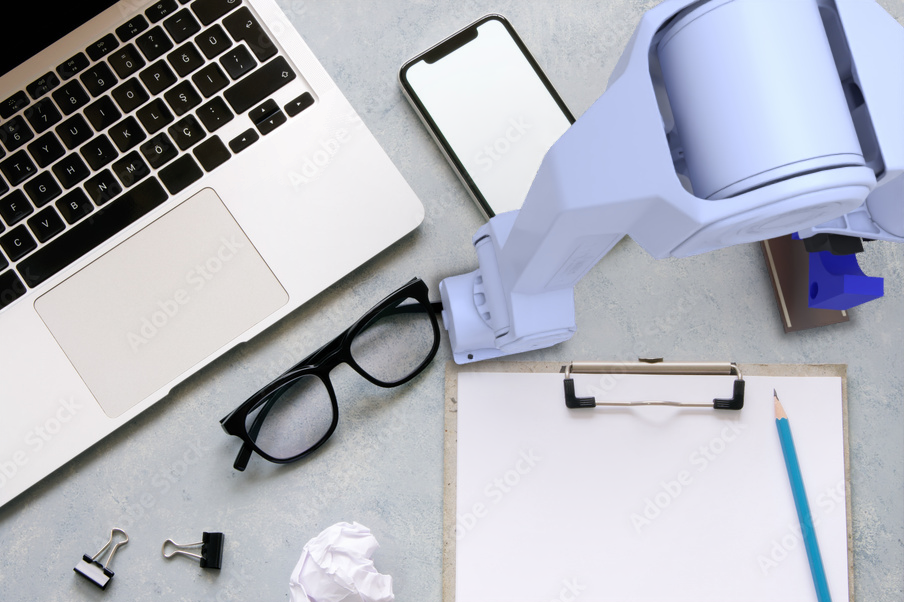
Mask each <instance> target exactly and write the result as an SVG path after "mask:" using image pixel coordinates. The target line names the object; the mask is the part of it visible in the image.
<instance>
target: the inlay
mask: <svg viewBox="0 0 904 602" xmlns="http://www.w3.org/2000/svg"><path fill="white" fill-rule="evenodd" d="M759 243H760V247H761V252H762V254H763V258H764V262H765V265H766V269H767V272H768V275H769V279H770V283H771V287H772V291H773V294H774V298H775V302H776V304H777V308H778V312H779V314H780V319H781V323H782V327H783V330H784V333H785V334H789V333H790V334H791V333H794V332H795V333H796V332H799V331H804V330H809V329H815V328H820V327H825V326H829V325H833V324H834V325H835V324H841V323H844V322H850V320H851V319H850V316H849V312H848V309H847V310H832V309H820V308H808V295H809V252H807V251H806V248H805V245H804V241H803V240H797V239H792V233H790V234H787V235H783V236H779V237H775V238H771V239H766V240H761V241H759Z"/></svg>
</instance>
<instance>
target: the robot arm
mask: <svg viewBox="0 0 904 602" xmlns="http://www.w3.org/2000/svg"><path fill="white" fill-rule="evenodd" d="M797 231H798V234H799V238H800V239H802V238H803V241H804V245H805V248H806V251H807V252H809V253H815V252H821V251H829V252H830V253H831V254H833V255H838V256H844V255H850V254H859V253H864V252H865V248H864V246H863V242H865V243H867V242H875V241H882V242H883V241H884V242H891V243H896V244H897V243H899V244H904V26H903V25H902V24H901V23H900V22H898V21H897V20H896V19H895V18H894V17H893V16H892V15H891V14H890V13H889V12H888V11H887V10H886V9H885V8H884V7H882V5H881V4H879V3H878V2H877V1H876V0H662V1H660V2H658V3H657V4H656V5H655V6H653V8H650V9H648V10H646V11H644V13H643V14H642V16H641V17H640V19H639V21H638V23H637V25H636V27H635V29H634V30H633V33H632V34H631V36H630V38H629V40H628V42H627V43H626V46H625V48H624V49H623V51H622V53H621V55H620V57H619V58H618V60H617V62H616V64H615V66H614V68H613V70H612V72H611V73H610V76H609V77H608V79H607V83H606V87H605V90H604V92H603V93H602V94H601V95H600V96H599V97H598V98H597V99H595V101H594V102H593V103H592V104H591V105H590V106H588V108H587V109H586V110H585V111H584V112H583V113H582V114H581V116H579V117H578V118H577V119H576V120H575V121H574V122H573V124H571V125H570V126H569V127H568V128H567V130H565V132H564V133H562V135H561V136H560V137H559V138H558V139H557V140H556V141H555V142H554V143H553V144H552V145H551V146H550V147H549V149H548V150H547V151H546V153H545V154H544V157H543V158H542V161H541V163H540V165H539V167H538V169H537V172H536V174H535V176H534V178H533V181H532V182H531V185H530V187H529V189H528V191H527V193H526V195H525V198H524V201H522V205H521V207H520V208H518V209H517V208H516V209H512V210H508V211H506V212H502V213H498V214H495V215H494V216H493V217H491V218H489V220H488V222H485V223H484V224H483V225H481V226H480V227H479V228H478V230H477V231H476V232H475V233H474V234H473V236H471V243H472V246H473V247H474V249H475V253H476V256H477V260H478V266H479V268H477V269H475V270H473V271H471V272H467V273H463V274H459V275H454V276H449V277H445V278H444V279H442V280H441V281H440V282H439V283H438V289H439V294H440V298H441V303H442V308H443V309H442V310H441V317H442V322H443V327H444V330H445V331H447V332H448V337H449V342H450V347H451V352H452V357H453V360H454V363H455V364H456V365H466V364H469V363H475V362H480V361H485V360H491V359H497V358H499V357H506V356H510V355H515V354H520V353H526V352H531V351H536V350H541V349H545V348H550V347H553V346H554V345H558V344H560V343H563V342H566V341H568V340H570V339H572V337H574V334H575V333H576V332H577V331H578V325H577V322H576V306H575V286H576V285H577V284H578V282H580V281H581V280H582V279H583V278H584V277H585V276H586V275H587V274H588V273H589V272H590V271H591V270H592V269H593V268H594V267H595V266H596V265H597V264H598V263H599V262H600V261H601V260H602V259H603V258H604V257H605V256H606V255H607V254H608V253H609V252H610V251H611V250H612V249H613V248H614V247H615V246H616V245H617V244H618V243H619V242H620V241H621V240H622V239H623V238H624V237H625V236H628V237H630V238H631V239H632V240H633V241H634V242H635V243H636V244H637V245H638V246H639V247H641V248H642V249H643V250H644V251H645V252H646V253H647V254H648V255H650V257H651V258H653V260H655V261H656V260H657V261H660V260H665V259H668V258H672V257H673V258H676V259H685V258H691V257H694V256H695V257H696V256H698V255H702V254H706V253H709V252H710V253H711V252H714V251H717V250H721V249H726V248H729V247H733V246H737V245H742V244H743V245H744V244H749V243H756V242H760V241H761V240H766V239H771V238H775V237H779V236H783V235H787V234H790V233H794V232H797ZM469 355H471V356H472V358H471V359H470V358H468V356H469Z"/></svg>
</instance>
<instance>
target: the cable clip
mask: <svg viewBox="0 0 904 602" xmlns="http://www.w3.org/2000/svg"><path fill="white" fill-rule="evenodd" d="M792 239H797V240H803V238H802V239H800V238H799V234H798V231H797V232H794V233H792ZM856 254H857V253H855V254H850V255H844V256H838V255H833V254H831V253H830V252H829V251H821V252H815V253H809V295H808V308H820V309H832V310H847V311H848V310H850V309H852V308H855V307H858V306H861V305H863V304H866V303H869V302H872V301H874V300H877V299H881V298H883V297H884V296H885V282H884V281H885V280H884V279H885V277H881V276H869V275H867V274H865V272H864V271H863V269H862V268H861V266H860V264H859V262H858V259H857V255H856Z"/></svg>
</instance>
